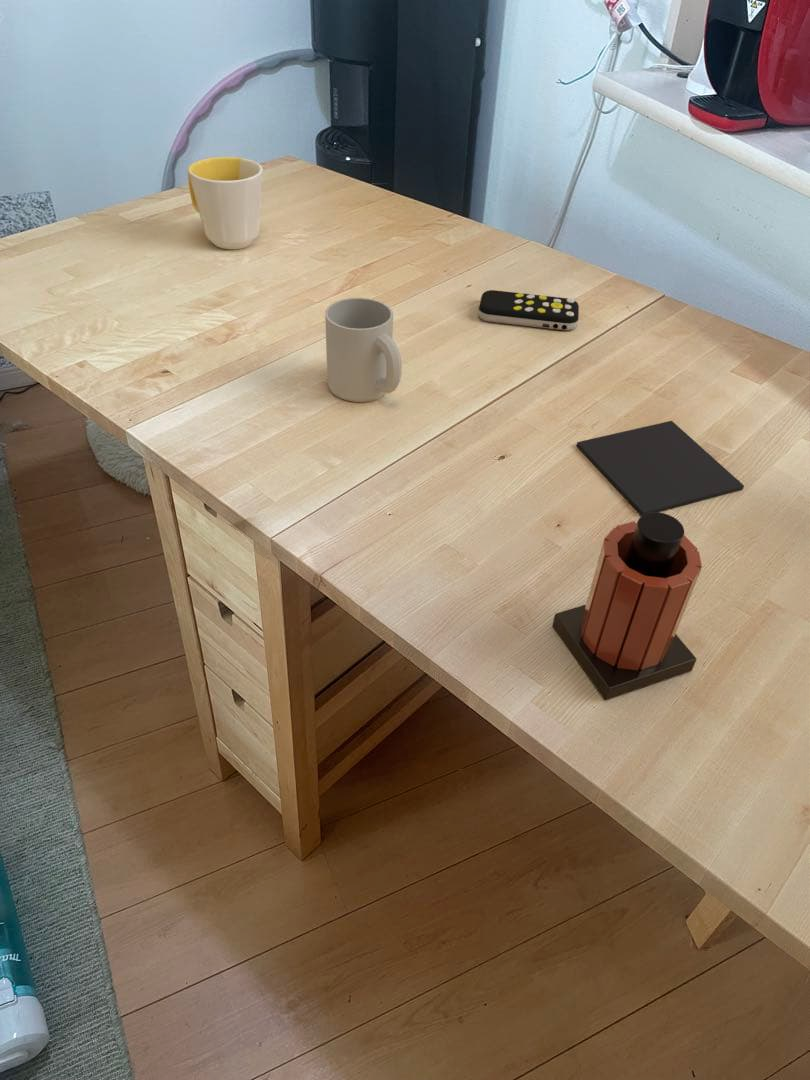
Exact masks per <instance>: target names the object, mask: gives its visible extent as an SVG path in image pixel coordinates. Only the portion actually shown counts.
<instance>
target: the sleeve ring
mask: <svg viewBox="0 0 810 1080" xmlns="http://www.w3.org/2000/svg"><path fill="white" fill-rule="evenodd" d="M637 522H638V520H637V521H635V520H634V521H630V522H626V523H622V524H619V525H616V526H615V527H613V528H612V529H611V530H610V531H609V532H608V533H607V535H606V536H605V537H604V538H603V541H602V546H601V549H600V553H599V556H598V560H597V563H596V566H595V567H596V568H595V569H594V574H593V578H592V581H591V585H590V589H589V592H588V596H587V599H586V603H585V605H586V606H585V610H584V614H583V617H582V621H581V637H582V638H583V641H584V642H585V644H586V645H587V646H588V648H589V649H590V651H591V652H592V653H593V654H596V657H598V658H599V659H601V660H603V661H605V662H607V663H608V664H610V665H612V666H615V665H616V663H617V668H622V669H630V670H638V669H639V668H640V670H643V669H646V668H649V667H652V666H655V665H658V663H659V662H661V661H662V660H663V658H664V657H665V655H666V654H667V653H668V651H669V649H670V646H671V644H672V641H673V639H674V636H675V634H676V635H677V631H678V628H679V626H680V623H681V621H682V619H683V616H684V613H685V611H686V608H687V606H688V604H689V601H690V599H691V596H692V594H693V591H694V589H695V586H696V585H697V582H698V579H699V576H700V573H701V572H702V568H703V565H702V564H703V563H702V560H701V555H700V551H699V550H698V547H697V546H695V544H694V543H693V542H692V541H691V540H690V539H689V538H688V537H687V536H686V535H685V534H684V536H683V539H682V542H681V544H680V547H679V550H678V552H677V555H676V558H675V561H674V563H673V566H672V569H671V572H670V574H669V577H667V578H661V577H652V576H645V575H643V574H641V573H639V572H637V571H635V570H633V569H631V568H629V567H628V566H627V565H626V564H625V561H626V558H627V554H628V551H629V548H630V545H631V541H632V538H633V535H634V532H635V528H636V525H637Z"/></svg>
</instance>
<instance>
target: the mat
mask: <svg viewBox="0 0 810 1080" xmlns="http://www.w3.org/2000/svg"><path fill="white" fill-rule="evenodd" d="M576 447H577V449H579V450H580V451H581V452H582V453H583V455H584V456H585V457H586V458H587V459H588V460H589V462H590V463H592V464H593V466H595V467H596V469H597V470H598V471H599V472H600V473H601V474H602V475H603V476H604V477H605V478H606V479H607V481H609V483H610V484H611V485H612V486H613V488H615V489H616V490H617V491H618V492H619V494H621V496H622V497H623V498H624V499H625V500H626V501H627V502H628V503H629V504H630V506H632V507H633V509H634V510H635V511H636V512H637V513H638V514H639V515H640V517H641V516H642V515H644V514H646V513H651V512H659V513H661V512H664V511H667V510H672V509H675V508H678V507H683V506H685V505H690V504H693V503H697V502H701V501H705V500H709V499H713V498H716V497H720V496H722V495H727V494H731V493H735V492H739V491H742V490H744V487H745V485H744V484H743V483H742V482H741V481H739V480H738V479H737V478H736V477H735V476H734V475H733V474H732V473H731V472H730V471H728V470H727V469H726V468H725V467H724V466H723V465H722V464H720V463H719V462H718V461H717V460H716V459H715V458H714V457H713V456H712V455H711V454H709V452H707V450H705V449H704V448H703V447H702V446H701V445H700V444H698V443H697V442H696V441H695V440H694V439H693V438H692V437H691V436H690V435H689V434H687V432H685V431H684V430H683V429H682V428H680V427H679V426H678V425H677V424H676V423H675V422H674V421H673V420H668V421H664V422H660V423H655V424H651V425H647V426H642V427H637V428H633V429H629V430H624V431H620V432H616V433H615V432H614V433H611V434H607V435H602V436H598V437H594V438H590V439H585V440H580V441H577V442H576Z"/></svg>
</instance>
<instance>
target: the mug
mask: <svg viewBox="0 0 810 1080" xmlns="http://www.w3.org/2000/svg"><path fill="white" fill-rule="evenodd" d="M263 173H264V170H263V166H262V165H261V164H260V163H258V162H257V161H255V160H252V159H250V158H249V159H248V158H245V157H243V158H242V157H238V156H215V157H208V158H203V159H200V160H197V161H195V162H192V163H191V164H190V165H189V166H188V168H187V180H188V189H189V194H190V199H191V204H192V207H193V208H194V210H195V211H196V212H197V213H198V214H199V217H200V220H201V224H202V228H203V232H204V236H205V237H206V238H207V239H208V240H209V241H210V242H211V243H212V244H213V245H214V246H216V247H218V248H220V249H223V250H240V249H246V248H247V247H249V246H251V245H252V243H253V242H254V241H255V240H256V238H257V237H258V235H259V233H260V220H261V205H262V204H261V203H262V191H263V178H264V177H263Z"/></svg>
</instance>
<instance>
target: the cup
mask: <svg viewBox="0 0 810 1080" xmlns="http://www.w3.org/2000/svg"><path fill="white" fill-rule="evenodd" d="M324 317H325V318H324V320H325V321H324V323H325V349H326V351H325V353H326V380H327V386H328V388H329V390H330V392H331V393H332V394H333V395H334V396H336V398H339V399H341V400H344V401H347V402H351V403H352V402H354V403H367V402H373V401H375V400H378V399H380V398H382V397H383V396H385V394H391V393H393V392H394V391H396V389H397V388H398V387H399V384H400V383H401V379H402V373H403V366H402V364H403V363H402V357H401V352H400V348H398V345H397V344H396V342H395V341H394V340H393V338H394V337H393V335H394V334H393V333H394V312H393V310H392V308H391V307H390V306H389V305H387V304H386V303H384V302H383V301H380V300H377V299H374V298H367V297H348V298H343V299H340V300H337V301H334V302H333V303H330V304H329V305H328V306H327V307H326V309H325V311H324Z"/></svg>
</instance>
